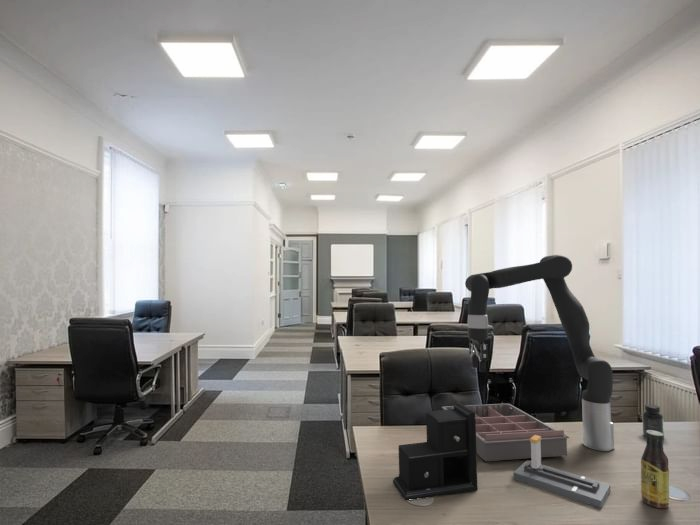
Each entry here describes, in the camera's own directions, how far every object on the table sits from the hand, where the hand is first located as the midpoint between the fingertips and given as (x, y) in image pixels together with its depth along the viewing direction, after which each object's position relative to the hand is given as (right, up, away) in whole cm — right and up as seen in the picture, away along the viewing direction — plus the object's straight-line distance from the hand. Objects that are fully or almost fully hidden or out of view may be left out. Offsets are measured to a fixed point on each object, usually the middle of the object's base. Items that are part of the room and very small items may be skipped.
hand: (478, 369), depth 151 cm
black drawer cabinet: (-23, -28, -30) cm, 47 cm away
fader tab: (+11, -26, -24) cm, 37 cm away
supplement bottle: (+74, -30, +10) cm, 80 cm away
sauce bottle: (+37, -27, -39) cm, 61 cm away
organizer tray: (+10, -30, +6) cm, 32 cm away
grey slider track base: (+16, -28, -29) cm, 43 cm away
